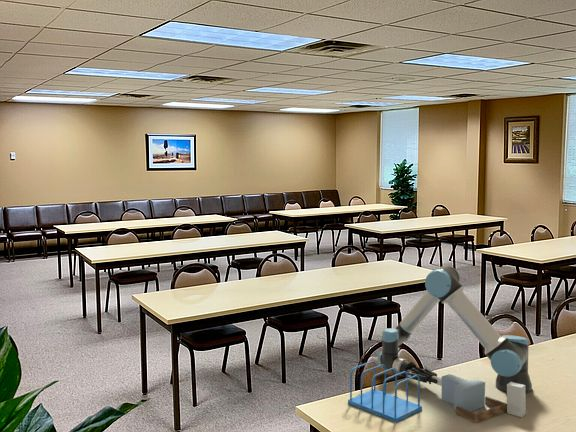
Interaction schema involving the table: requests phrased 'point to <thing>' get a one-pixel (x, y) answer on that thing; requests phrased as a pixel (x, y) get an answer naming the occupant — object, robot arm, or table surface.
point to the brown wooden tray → (498, 409)
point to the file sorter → (385, 398)
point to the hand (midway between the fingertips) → (444, 383)
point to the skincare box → (516, 399)
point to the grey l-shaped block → (463, 392)
